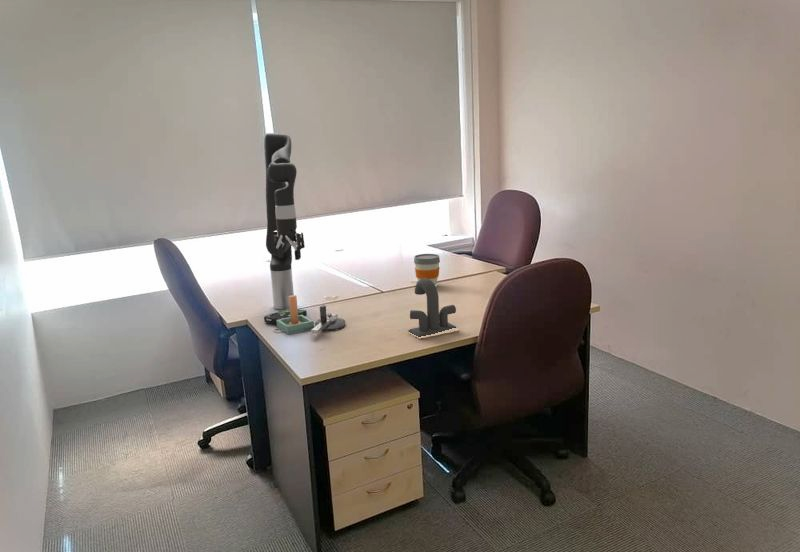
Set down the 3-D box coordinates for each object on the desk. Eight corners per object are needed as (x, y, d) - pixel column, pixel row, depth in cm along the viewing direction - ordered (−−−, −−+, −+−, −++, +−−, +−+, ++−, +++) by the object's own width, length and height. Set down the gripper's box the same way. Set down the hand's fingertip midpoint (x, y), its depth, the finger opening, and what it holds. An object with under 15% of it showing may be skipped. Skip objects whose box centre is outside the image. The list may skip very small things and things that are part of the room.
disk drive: (282, 326, 232) (307, 316, 244) (281, 320, 231) (306, 309, 243) (264, 323, 238) (289, 313, 250) (263, 316, 237) (289, 307, 249)
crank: (329, 317, 236) (327, 298, 234) (340, 318, 235) (339, 298, 233) (308, 333, 217) (306, 313, 215) (320, 334, 216) (319, 313, 214)
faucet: (438, 319, 234) (437, 271, 229) (459, 330, 220) (459, 279, 215) (398, 328, 226) (396, 278, 221) (418, 339, 212) (416, 287, 207)
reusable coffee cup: (445, 286, 284) (445, 256, 280) (426, 291, 276) (426, 260, 272) (428, 281, 293) (427, 252, 290) (409, 286, 285) (408, 256, 282)
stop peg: (287, 325, 231) (285, 296, 228) (298, 322, 233) (295, 294, 230) (292, 327, 227) (289, 298, 224) (302, 325, 230) (300, 296, 227)
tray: (277, 327, 232) (276, 320, 231) (302, 321, 238) (301, 314, 237) (287, 334, 223) (287, 327, 222) (313, 328, 229) (313, 321, 228)
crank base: (310, 325, 233) (310, 321, 232) (337, 319, 239) (336, 315, 239) (323, 333, 223) (323, 329, 223) (350, 326, 229) (350, 323, 229)
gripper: (265, 217, 220) (268, 259, 224) (293, 219, 213) (296, 262, 217) (278, 214, 227) (282, 255, 230) (306, 216, 219) (310, 258, 223)
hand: (289, 258), depth 224 cm, fingers open, 8 cm apart
